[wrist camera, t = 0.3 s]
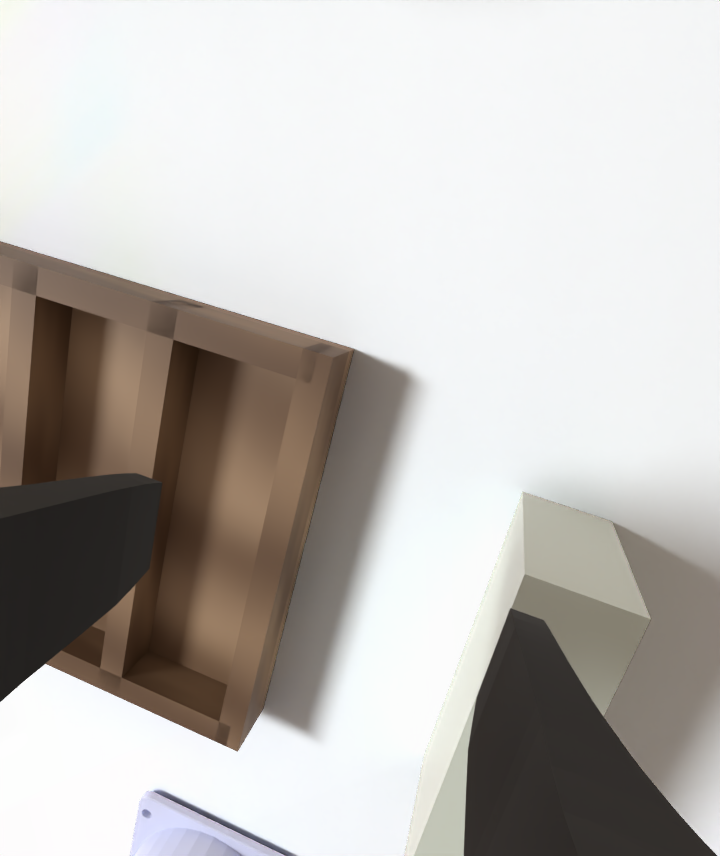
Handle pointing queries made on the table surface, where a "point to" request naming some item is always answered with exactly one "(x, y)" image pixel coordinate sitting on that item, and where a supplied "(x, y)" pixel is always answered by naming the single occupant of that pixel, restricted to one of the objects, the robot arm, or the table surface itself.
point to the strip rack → (173, 472)
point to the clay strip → (567, 620)
